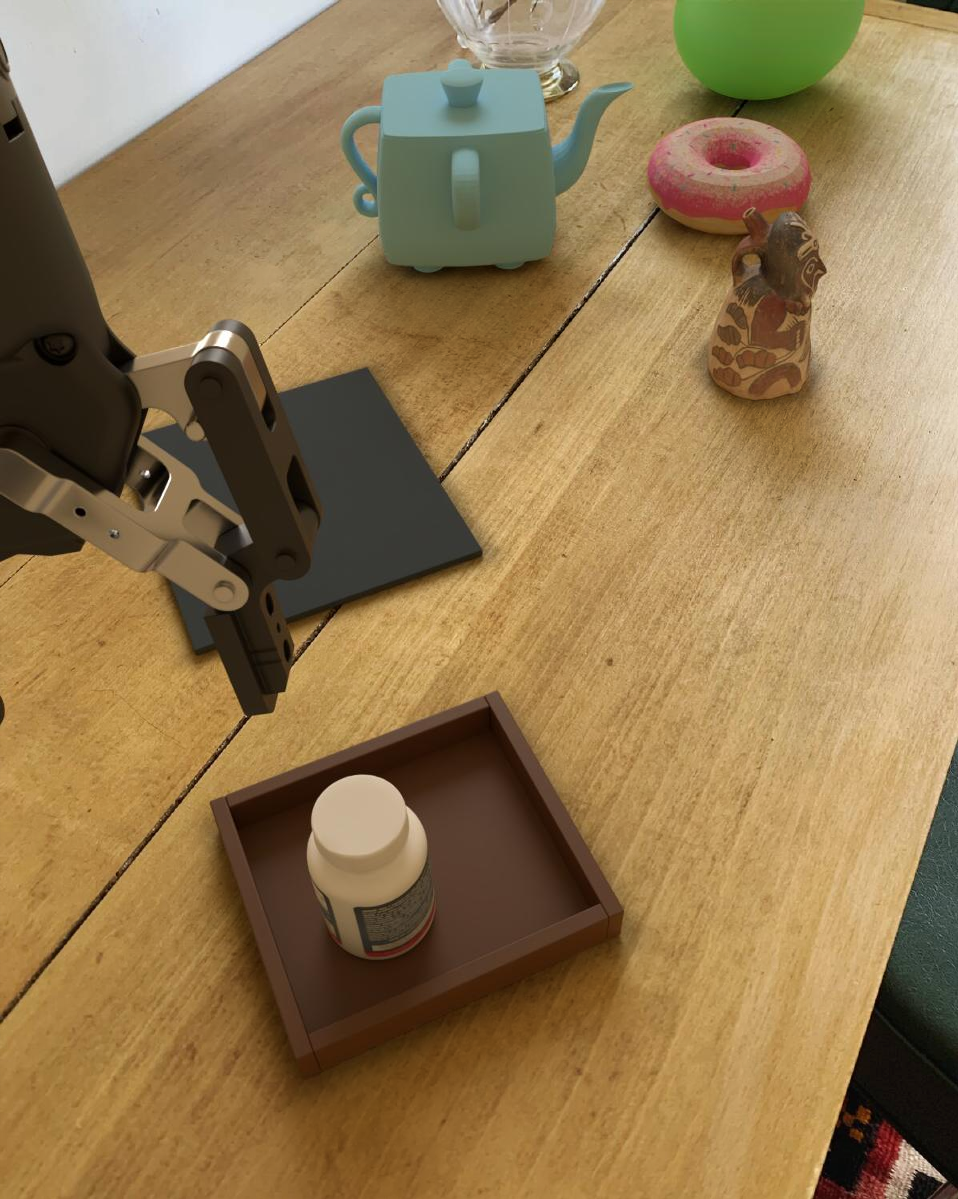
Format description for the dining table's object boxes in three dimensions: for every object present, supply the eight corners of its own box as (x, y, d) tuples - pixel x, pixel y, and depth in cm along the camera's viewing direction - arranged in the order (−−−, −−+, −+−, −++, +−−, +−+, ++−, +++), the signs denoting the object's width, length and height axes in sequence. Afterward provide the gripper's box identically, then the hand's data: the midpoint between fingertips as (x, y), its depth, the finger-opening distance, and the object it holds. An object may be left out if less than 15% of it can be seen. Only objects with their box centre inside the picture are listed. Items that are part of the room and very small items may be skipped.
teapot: (453, 325, 83) (445, 154, 73) (325, 238, 92) (302, 73, 81) (624, 235, 91) (638, 68, 81) (491, 161, 99) (489, 1, 89)
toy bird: (762, 149, 99) (793, -29, 88) (623, 88, 108) (635, -81, 96) (880, 82, 107) (922, -89, 96) (741, 31, 115) (765, -132, 104)
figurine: (787, 412, 76) (824, 257, 67) (690, 382, 78) (712, 228, 69) (820, 355, 80) (859, 200, 71) (726, 328, 82) (752, 175, 73)
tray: (304, 1080, 48) (295, 1060, 46) (219, 826, 56) (208, 800, 54) (620, 934, 52) (624, 910, 50) (498, 716, 60) (497, 689, 58)
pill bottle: (453, 882, 54) (444, 785, 47) (406, 980, 50) (389, 892, 44) (356, 843, 55) (333, 745, 48) (304, 937, 52) (272, 845, 45)
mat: (196, 655, 63) (194, 650, 63) (120, 445, 75) (118, 439, 75) (483, 555, 68) (482, 549, 67) (367, 371, 80) (367, 366, 80)
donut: (691, 262, 88) (699, 204, 84) (615, 183, 96) (619, 126, 92) (836, 224, 91) (850, 166, 87) (751, 150, 99) (760, 95, 95)
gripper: (-630, 253, 20) (-166, 848, 30) (106, 94, 19) (352, 777, 28) (-371, 149, 26) (-54, 669, 36) (200, 22, 25) (376, 603, 34)
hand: (124, 716), depth 32 cm, fingers open, 8 cm apart
